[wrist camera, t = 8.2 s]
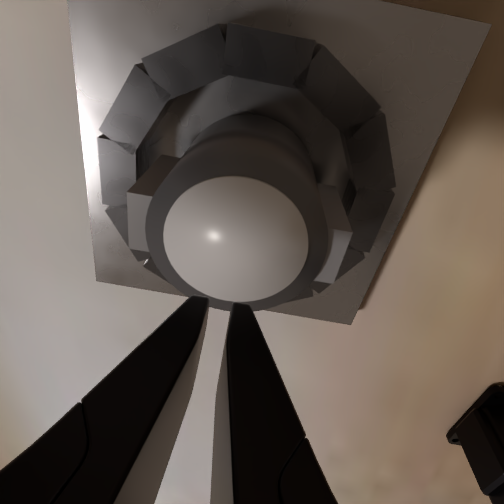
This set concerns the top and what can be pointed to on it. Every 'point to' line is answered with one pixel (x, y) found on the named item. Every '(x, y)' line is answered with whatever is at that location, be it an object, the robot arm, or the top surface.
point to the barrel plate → (267, 109)
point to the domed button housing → (239, 216)
